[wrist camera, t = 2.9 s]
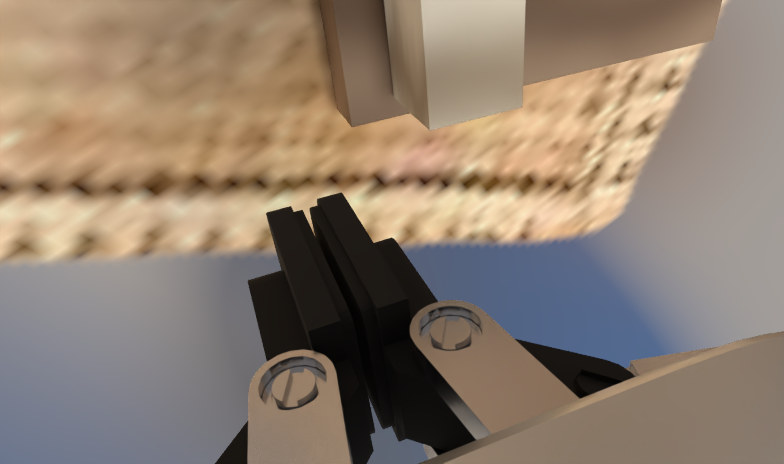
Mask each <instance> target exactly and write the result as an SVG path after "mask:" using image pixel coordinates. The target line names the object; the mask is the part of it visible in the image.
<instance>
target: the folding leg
mask: <svg viewBox="0 0 784 464" xmlns="http://www.w3.org/2000/svg"><path fill="white" fill-rule="evenodd" d="M525 4H526V0H384V7H385V17H386V26H387V36H388V45H389V55H390V64H391V74H392V83H393V93H394V98H395V99H396V100H397V101H398V102H399V103H400V104H401V105H402V106H403V107H404V108H406V109H407V110H408V111H409V112H410V113H411V114H412V115H413V116H414V117H416V118H417V119H418V120H419V121H420V122H421V123H422V124H423V125H424V126H425V127H427V128H428V129H429V130H434V129H438V128H442V127H446V126H450V125H454V124H458V123H462V122H466V121H470V120H474V119H478V118H482V117H486V116H490V115H494V114H498V113H502V112H506V111H510V110H514V109H518V108H522V102H523V69H524V37H525Z"/></svg>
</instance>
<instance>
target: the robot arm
mask: <svg viewBox="0 0 784 464" xmlns="http://www.w3.org/2000/svg"><path fill="white" fill-rule="evenodd" d="M317 205H318V206H315V207H311V208H310V215H311V219H312V224H313V228H314V233H315V236H314V234H313V231H312V229H311V227H310V225H309V223H308V221H307V219H306V216H305V214H304V212H303V210H300V211H296V212H293V210H292V208H291V206H290V207H286V208H282V209H279V210H275V211H271V212H268V213H266V215H267V219H268V223H269V226H270V230H271V234H272V237H273V241H274V245H275V248H276V252H277V255H278V259H279V263H280V266H281V271H278V272H275V273H271V274H268V275H265V276H261V277H258V278H255V279H251V280H248V285H249V289H250V293H251V297H252V301H253V305H254V310H255V313H256V318H257V322H258V326H259V330H260V335H261V339H262V343H263V347H264V351H265V355H266V359H267V362H266V363H265V364H264V365H263V366H262V367H261V368H260V369H259V370H258V371H257V372H256V374H255V375H254V377H253V379H252V380H251V383H250V388H249V403H248V421H247V423H246V424H245V425H244V426H243V428H242V429H241V431H240V432H239V433H238V434H237V436H236V437H235V438H234V440H233V441H232V442H231V443H230V445H229V446H228V447H227V449H226V450H225V451H224V453H223V454H222V455H221V456H220V458H219V459H218V461H217V462H216V463H215V464H367V462H368V460H369V458H370V456H371V454H372V452H373V446H372V441H371V436H370V434H372V433H375V428H374V423H373V418H372V413H371V407H370V402H369V399H370V401H371V403H372V406H373V408H374V411H375V413H376V415H377V418H378V420H379V422H380V424H381V427H382V428H383V429H385V428H388V427H391V426H392V428H393V430H394V432H395V434H396V437H397V439H398V441H402V440H404V439H410V440H413V441H416V442H419V443H422V444H424V450H425V452H426V454H427V456H428V458H429V460H426V461H424V462H421V463H419V464H784V331H783V332H777V333H769V334H763V335H759V336H755V337H751V338H747V339H742V340H738V341H735V342H732V343H729V344H725V345H722V346H719V347H714V348H707V349H701V350H695V351H689V352H683V353H676V354H670V355H664V356H657V357H651V358H645V359H639V360H633V361H630V365H629V367H628V368H624V367H622V366H620V365H619V364H616V363H613V362H610V361H607V360H603V359H599V358H595V357H591V356H587V355H582V354H578V353H574V352H569V351H565V350H560V349H556V348H552V347H547V346H543V345H539V344H534V343H530V342H526V341H522V340H517V339H514V338H513V337H511V335H509V334H508V333H507V332H506V331H505V330H504V329H503V328H502V327H501V326H499V325H498V324H497V323H496V322H495V321H494V320H493V319H492V318H491V317H490V316H489V315H488V314H486V313H485V312H484V311H483V310H481V309H480V308H478V307H477V306H475V305H473V304H470V303H467V302H464V301H456V300H447V301H439V302H438V301H437V299H436V298H435V296H434V295H433V294H432V292H431V291H430V289H429V288H428V286H427V285H426V284H425V282H424V281H423V279H422V278H421V276H420V275H419V273H418V272H417V271H416V269H415V268H414V266H413V265H412V263H411V262H410V260H409V259H408V258H407V256H406V255H405V253H404V252H403V250H402V249H401V248H400V246H399V245H398V243H397V242H396V241H395V240H394V238H389V239H385V240H382V241H379V242H375V243H373V241H372V240H371V238H370V237H369V235H368V233H367V232H366V230H365V229H364V227H363V225H362V224H361V222H360V221H359V219H358V217H357V216H356V214H355V213H354V211H353V209H352V208H351V206H350V205H349V203H348V201H347V200H346V198H345V197H344V195H343V194H342V193H338V194H334V195H330V196H327V197H323V198H319V199H317ZM315 237H316V238H315Z"/></svg>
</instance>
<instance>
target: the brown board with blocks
mask: <svg viewBox="0 0 784 464" xmlns="http://www.w3.org/2000/svg"><path fill="white" fill-rule="evenodd" d="M319 2H320V8H321V14H322V20H323V26H324V32H325V38H326V44H327V50H328V56H329V62H330V68H331V74H332V80H333V86H334V92H335V98H336V104H337V109H338V110H339V112H340V113H341V114H342V115H343V117H344V118H345V119H346V120H347V122H348V123H349V124H350V125H351V127H355V126H359V125H363V124H367V123H371V122H376V121H380V120H384V119H388V118H392V117H396V116H400V115H405V114H409V113H410V112H409V111H408V110H407V109H406V108H404V107H403V106H402V105H401V104H400V103H399V102H398V101H397V100H396V99H395V98H394V93H393V83H392V74H391V64H390V55H389V45H388V36H387V26H386V17H385V7H384V0H319ZM721 2H722V0H526V4H525V37H524V69H523V86H525V85H529V84H533V83H537V82H541V81H546V80H550V79H554V78H558V77H562V76H566V75H570V74H575V73H579V72H583V71H587V70H591V69H595V68H599V67H604V66H608V65H612V64H616V63H620V62H624V61H628V60H633V59H637V58H641V57H645V56H649V55H653V54H657V53H662V52H666V51H670V50H674V49H678V48H682V47H687V46H691V45H695V44H699V43H703V42H707V41H711V40H713V39H714V34H715V29H716V25H717V20H718V16H719V11H720V7H721Z"/></svg>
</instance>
